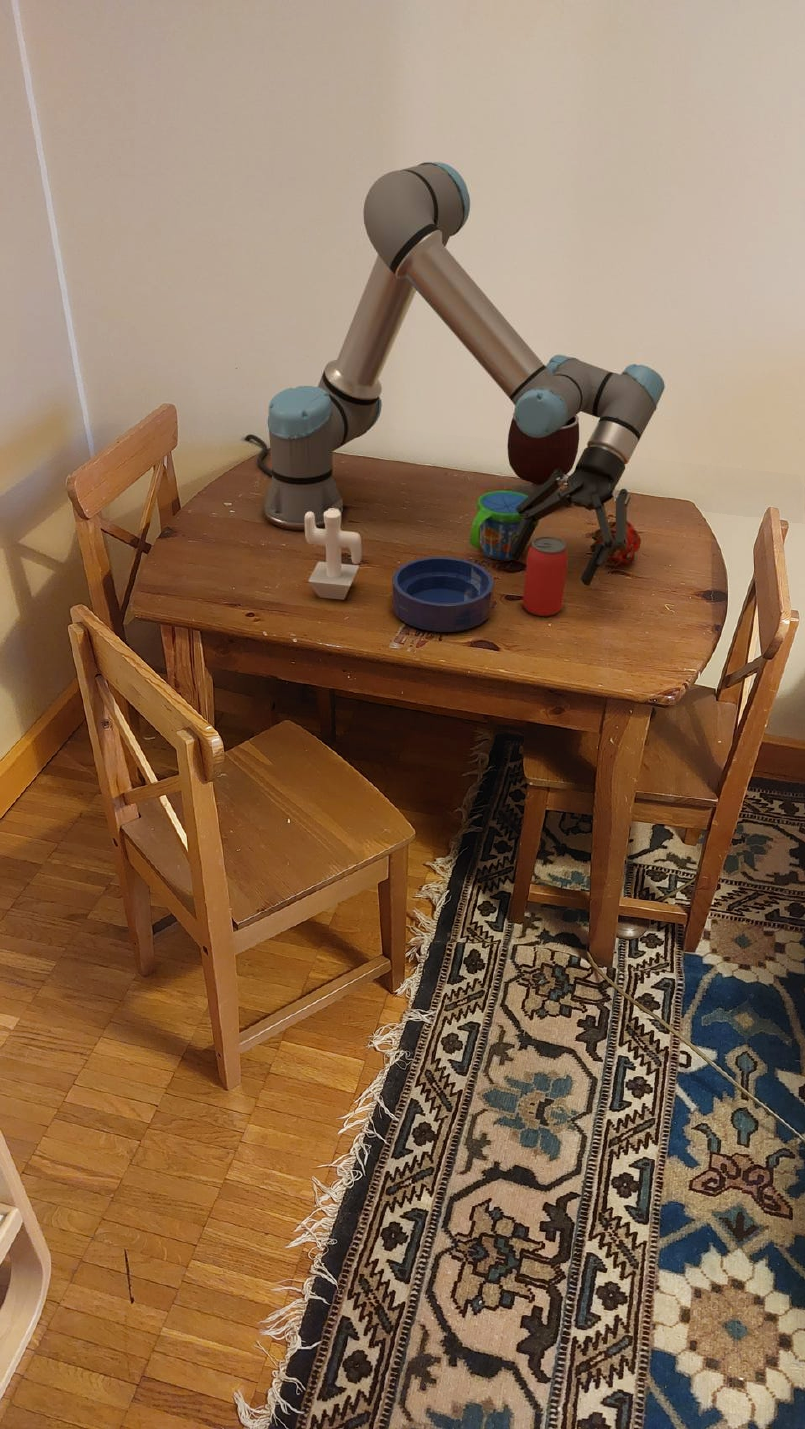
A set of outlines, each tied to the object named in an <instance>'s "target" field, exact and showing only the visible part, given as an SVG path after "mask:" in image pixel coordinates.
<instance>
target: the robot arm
mask: <svg viewBox="0 0 805 1429" xmlns="http://www.w3.org/2000/svg"><path fill="white" fill-rule="evenodd" d="M469 193H470V192H469V190H468V187H467V184H466V181H465V180H464V178H463V177H462V175H461V174H460V173H459V172H458V171H457V170H456V168H454V167H452V166H450V164H447V163H444V162H440V161H439V162H438V161H435V162H434V161H433V162H432V161H424V162H421V163H419V164H418V165H414V166H411V167H407V168H403V169H398V170H392V171H389V172H387V173H385V174H383V175H381V176H380V177H379V178H378V179H376V180H375V181H374V183H373V184H372V185H371V187H370V188H369V190H368V192H367V194H366V197H365V199H364V203H363V211H362V212H363V214H362V215H363V223H364V228H365V231H366V234H367V237H368V239H369V241H370V243H371V245H372V247H373V249H374V250H375V252H376V253H377V256H376V259H375V262H374V264H373V266H372V269H371V271H370V274H369V277H368V279H367V281H366V284H365V286H364V290H363V291H362V294H361V297H360V299H359V302H358V304H357V308H356V310H355V313H354V314H353V317H352V320H351V323H350V325H349V327H348V330H347V333H346V336H345V338H344V340H343V343H342V346H341V349H340V351H339V353H338V356H337V359H334V360H331V361H329V362H327V364H326V365H325V367H324V370H323V372H322V375H321V376H320V380H319V382H318V385H317V386H313V385H299V386H296V387H295V388H293V387H289V388H286V389H283V390H281V391H280V392H277V393H276V394H275V395H274V396H272V398H271V400H270V401H269V404H268V415H267V427H268V436H269V449H270V450H269V452H270V465H271V469H270V468H269V467H267V466H266V465H265V464H264V462H263V460H264V459H265V458H264V457H265V456H266V454H267V453H268V446H267V443H265V441H263V440H262V439H261V438H260V437H259V436H257V435H255V434H250V433H249V434H246V436H245V438H244V441H246V442H247V441H250V440H253V441H255V442H257V443H258V445H259V446H261V448H262V451H261V452H260V454H259V455H258V457H257V465H258V467H259V468H260V469H261V470H262V471H263V472H264V473H266V474H267V475H269V476H271V480H270V484H269V487H268V490H267V493H266V498H265V501H264V517H265V519H266V521H268V522H269V523H270V524H272V525H273V526H276V527H278V528H280V529H285V530H290V531H301V532H302V531H304V532H305V519H304V518H305V514H306V513H307V512H313V513H314V515H315V525H316V527H317V528H318V529H325V523H324V512H325V511H328V509H330V508H335V509H338V510H339V511H340V513H341V518H343V515H344V506H343V504H344V503H343V498H342V497H341V495H340V492H339V489H338V486H337V484H336V480H335V479H334V472H333V470H334V469H333V452H334V451H336V450H338V449H340V448H342V447H343V446H344V445H347V444H348V443H349V442H352V441H353V440H355V439H358V438H360V437H362V436H363V435H365V434H366V433H367V432H368V431H370V430H371V429H372V428H373V427H374V425H376V423H377V422H378V420H379V418H380V416H381V412H382V399H381V398H380V397H381V394H382V392H383V391H382V390H383V386H382V383H381V381H380V376H381V374H382V371H383V369H384V367H385V366H386V365H385V364H386V362H387V360H388V359H389V356H390V354H391V351H392V348H393V346H394V344H395V341H396V339H397V337H398V334H399V332H400V330H401V327H402V325H403V323H404V321H405V319H406V316H407V315H408V314H407V313H408V311H409V309H410V307H411V304H412V302H413V300H414V298H415V295H416V293H417V292H418V294H419V295H420V296H421V297H422V298H423V300H424V301H425V302H426V303H427V304H428V306H430V308H431V309H432V310H433V311H434V313H435V314H436V315H437V316H438V317H439V319H440V320H442V322H443V323H444V324H445V325H446V327H447V328H448V329H449V330H450V331H451V332H452V333H453V334H454V335H455V337H456V338H457V339H458V341H460V343H461V344H462V345H463V346H464V347H465V348H466V350H467V351H468V353H470V355H472V357H473V358H474V359H475V360H476V361H477V363H478V364H479V365H480V366H481V368H482V369H483V370H484V371H485V372H486V373H487V374H488V375H489V376H490V378H491V379H492V380H493V381H494V382H495V384H497V386H498V387H499V388H500V389H501V391H502V392H503V393H504V394H505V395H506V397H507V398H509V401H511V402H512V404H513V406H514V412H513V413H514V416H515V420H516V423H517V426H518V427H519V429H520V430H521V431H522V432H523V433H525V434H526V435H528V436H530V437H534V438H542V437H545V436H548V435H550V434H551V433H553V432H555V431H556V430H559V429H560V428H562V427H563V426H564V424H565V423H566V422H567V421H569V420H570V419H571V418H572V417H574V416H575V415H577V416H578V414H580V413H581V412H582V413H583V414H587V415H590V416H592V417H595V418H598V419H599V420H598V422H597V423H596V425H595V428H594V429H593V432H592V433H591V435H590V437H589V439H588V441H587V443H586V447H585V448H584V449H583V451H582V452H581V455H580V457H579V459H578V461H577V462H576V465H575V468H574V471H573V472H572V473H571V474H570V475H569V474H567V475H566V474H564V473H562V472H561V470H560V469H555V470H554V472H553V474H552V475H551V477H550V478H549V479H548V480H547V481H546V482H545V483H544V484H543V485H541V486H540V487H539V488H538V489H537V490H536V491H534V492H533V493H532V494H531V495H530V496H529V497H527V498H526V499H525V500H524V501H523V502H522V503H520V504H519V505H518V506H517V507H516V511H517V512H518V513H519V515H520V516H521V517H522V521H521V523H520V525H519V527H518V529H517V531H516V534H515V536H516V537H517V540H516V542H515V544H514V546H513V548H512V550H511V552H510V554H511V555H512V556H513V558H514V559H513V560H514V561H515V560H516V561H520V559H521V557H522V556H523V553H524V551H525V549H526V548H527V546H528V543H529V542H530V540H531V538H532V536H533V534H534V532H535V530H536V528H537V526H535V525H534V524H533V523H534V522H536V521H538V520H539V521H540V520H542V519H544V518H546V516H549V515H551V514H553V513H554V512H556V511H557V510H560V508H561V509H562V507H563V506H564V507H568V506H570V505H573V506H574V507H578V508H584V509H585V510H587V511H593V510H595V515H596V519H597V523H598V526H599V530H601V534H602V538H603V543H604V545H602V544H600V543H598V545H597V547H596V548H595V550H594V552H592V554H591V556H590V558H589V561H588V562H587V565H586V566H585V568H584V569H583V570H584V571H583V572H582V574H581V577H580V578H579V579H580V581H581V582H582V583H583V585H585V586H586V587H590V585H591V583H592V581H593V579H594V577H595V575H596V573H597V571H598V569H599V568H600V569H603V568H604V567H605V566H606V565H607V564H606V562H607V560H608V558H609V556H610V554H611V553H612V551H614V550H620V551H625V550H626V547H627V521H628V519H627V517H628V516H627V515H628V514H627V512H628V511H627V508H628V505H629V503H630V500H631V496H630V494H629V491H628V490H627V489H626V488H621V489H620V490H619V489H616V486H618V484H619V482H620V480H621V478H622V477H623V474H624V472H625V470H626V465H627V464H628V463H630V460H631V458H632V456H633V454H634V452H635V450H636V448H637V446H638V444H639V442H640V440H641V438H642V436H643V434H644V432H645V430H646V428H647V426H648V424H649V422H650V421H651V419H652V417H653V415H654V413H655V412H656V410H657V409H658V408H657V406H658V405H659V402H660V400H661V397H662V395H663V393H664V391H665V388H666V386H665V380H664V379H663V377H662V376H661V375H660V374H659V373H658V372H657V371H656V370H655V369H653V368H651V367H649V366H647V365H645V364H636V363H632V364H629V365H627V366H626V367H625V369H624V370H622V372H621V373H618V372H617V373H616V372H613V371H609V370H606V369H604V368H602V367H599V366H596V365H593V364H590V363H587V362H585V361H582V360H580V359H579V358H576V357H571V356H566V355H564V354H555V355H554V356H552V357H551V358H549V360H548V362H547V363H546V364H545V363H543V361H542V360H541V359H540V358H539V357H538V356H537V355H536V353H535V352H534V350H532V348H531V347H530V346H529V345H528V344H527V342H526V341H525V340H524V339H523V338H522V337H521V335H520V334H519V333H518V332H517V331H516V329H515V328H514V327H513V326H512V324H510V322H509V320H507V319H506V317H505V316H504V315H503V314H502V313H501V312H500V310H498V308H497V307H496V306H495V304H493V302H492V301H491V300H490V299H489V297H488V296H487V295H486V294H485V293H484V291H483V290H482V289H481V288H480V287H479V285H478V284H476V282H475V281H474V279H472V277H471V276H470V275H469V273H467V271H466V270H465V269H464V268H463V266H461V264H460V263H459V262H458V261H457V259H456V258H455V257H454V256H453V255H452V253H451V251H449V250H448V249H447V244H448V242H449V239H450V238H451V237H453V236H456V235H457V234H458V233H459V232H460V231H461V229H462V228H463V227H464V226H465V224H466V223H467V221H468V218H469V215H470V211H471V210H470V209H471V198H470V194H469ZM565 484H566V486H567V487H565V488H563V489H560V487H564V485H565ZM557 489H560V490H561V491H559V493H558V494H557V495H555V496H553V497H552V498H550V499H548V500H546V499H547V498H548V497H550V496H551V495H552V494H553V493H554V492H555V491H556V490H557ZM566 496H567V497H566ZM545 500H546V501H545ZM611 500H613V501H614V503H615V522H616V540H613V538H612V534H611V531H610V527H609V523H608V522H609V520H608V516H607V511H606V510H607V509H606V507H605V503H607V502H609V501H611ZM542 502H543V503H542ZM564 507H563V508H564Z"/></svg>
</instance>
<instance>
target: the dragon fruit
mask: <svg viewBox="0 0 805 1429" xmlns="http://www.w3.org/2000/svg"><path fill="white" fill-rule="evenodd" d="M608 523H609V527H610V531H611V534H612V538H613V540H616V521H608ZM591 539H592V540H593V541H594V542H593V543H592V544H591V545H590V547H589V548H590V551H591V553H593V552H594V550H595V548H596V547H597V545H598V543H600V544H602V545H604V543H603V538H602V534H601V530H600V529H597V530H595V532H594V534H593V535H592V536H591ZM641 543H642V539H641V537H640V535H639V533H638V531H637V530H636V528H635V526H634V525H633V524H632V523H631V522H629V521H628V520H627V547H626V550H625V551H620V550H614V551H612V553H611V554H610V556H609V558H608V560H607V562H606V564H605V565H609V566H610V567H616V566H618V565H619V564H620V563H622V564H629V565H630V564H631V563H633V562H634V561H635V556H636V554H635V553H637V552H638V551H639V549H640V548H641Z"/></svg>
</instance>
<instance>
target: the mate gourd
mask: <svg viewBox="0 0 805 1429" xmlns="http://www.w3.org/2000/svg"><path fill="white" fill-rule="evenodd" d="M579 421H580V418H579V416H578V414H577V415H575V416H574V417H572V418H571V419H570V420H569V421H567V422H566V423H565V424H564V426H563V427H562V428H560V429H559V430H556V431H555V432H553V433H551V434H550V435H548V436H545V437H542V438H534V437H530V436H528V435H526V434H525V433H523V432H522V431H521V430H520V429H519V427H518V426H517V423H516V420H515V416H514V412H513V413H512V418H511V421H510V422H511V423H510V426H509V428H508V436H507V458H508V462H509V463H508V464H509V466H510V468H511V469H512V471H513V472H514V474H515V475H516V477H518V478H519V479H520V480H522V481H525V482H528V483H523V484H519V485H516V486H512V487H511V488H510V489H509V490H508V491H512V492H518V493H522V494H525V495H527V496H530V495H531V494H532V493H533V492H534V491H536V490H537V489H538V488H539V487H540V486H541V485H543V484H544V483H545V482H546V481H547V480H548V479H549V478H550V477H551V475H552V474H553V472H554V470H555V469H560V470H561V472H562V473H564V474H566V475H569V473H570V472H571V471H572V469H573V467H574V465H575V462H576V459H577V455H578V453H579V452H578V451H579V446H580V423H579ZM561 490H562V489H560V488H558V489H557V490H556V491H555V492H554V493H553V494H552V495H551V496H550V497H548V498H547V499H546V500H548V499H550V498H552V497H553V496H555V495H557V494H558V493H559V491H561ZM566 497H568V496H566ZM546 500H545V501H546ZM542 503H543V502H542ZM564 507H565V506H563V507H562V508H564ZM562 508H560V509H562ZM560 509H559V510H560Z"/></svg>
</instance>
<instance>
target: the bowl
mask: <svg viewBox="0 0 805 1429" xmlns="http://www.w3.org/2000/svg"><path fill="white" fill-rule="evenodd" d="M391 584H392V585H391V586H392V587H391V589H392V590H391V591H392V592H391V604H392V611H393V612H394V614H395V615H396V616H397V618H398V619H399V620H401V621H403V622H404V623H405V624H407V625H409V626H411V627H414V628H417V629H419V630H424V631H431V632H436V633H454V632H460V631H465V630H466V631H467V630H470V629H472V628H475V627H478V626H479V625H481V624H483V623H484V622H485V621H486V620H487V619H488V618H490V615H491V612H492V610H493V602H494V600H493V599H494V591H495V590H494V589H495V582H494V579H493V575H492V574H491V572H489V571H488V570H487V569H486V568H485V567H483V566H481V565H480V564H477V563H476V562H473V561H470V560H466V559H464V558H458V557H452V556H428V557H427V556H426V557H421V558H416V559H414V560H410V561H408V562H405V563H403V565H401V566H400V567H398V568H397V569H396V570H395V572H394V573H393V575H392V583H391Z"/></svg>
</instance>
